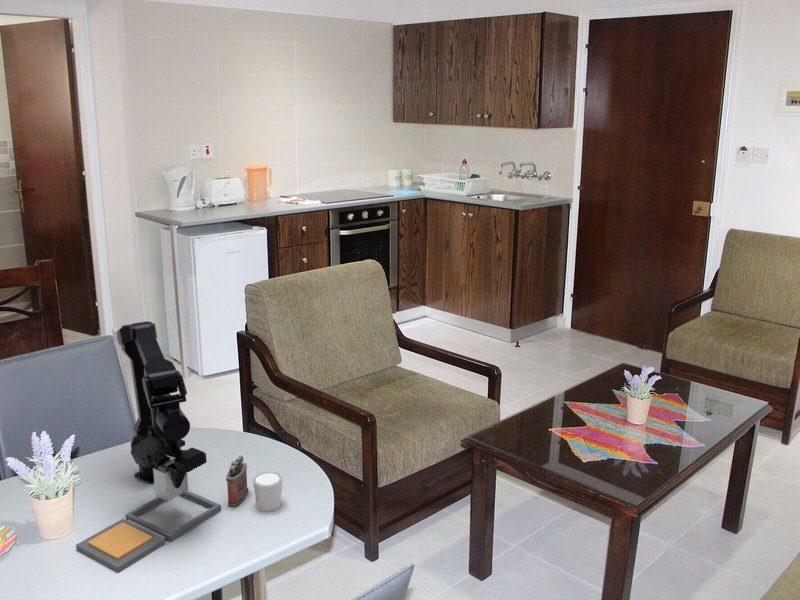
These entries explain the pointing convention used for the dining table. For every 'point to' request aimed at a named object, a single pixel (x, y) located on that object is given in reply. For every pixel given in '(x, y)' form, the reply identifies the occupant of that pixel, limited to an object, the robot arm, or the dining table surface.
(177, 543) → the dining table surface
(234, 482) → the red tin
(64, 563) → the dining table surface
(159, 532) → the gray square frame
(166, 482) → the block
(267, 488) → the grey cup
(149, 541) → the lid
